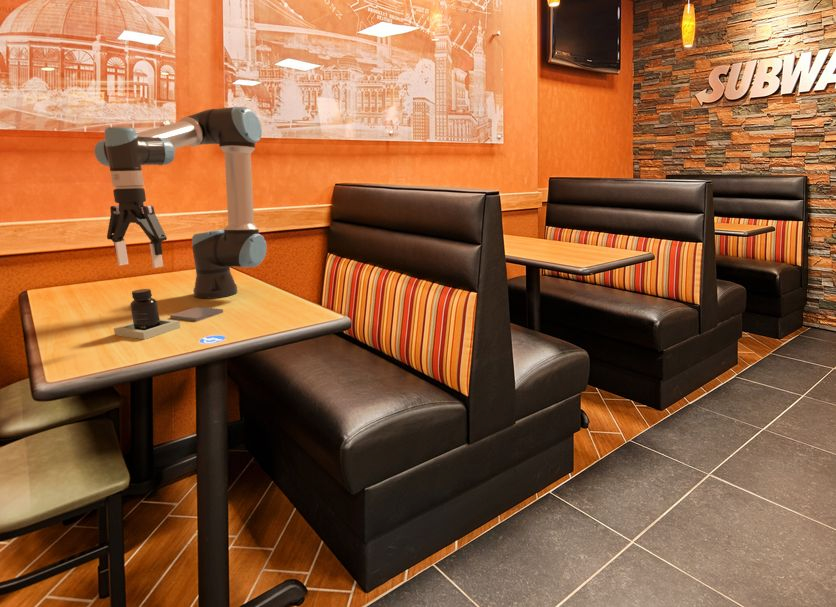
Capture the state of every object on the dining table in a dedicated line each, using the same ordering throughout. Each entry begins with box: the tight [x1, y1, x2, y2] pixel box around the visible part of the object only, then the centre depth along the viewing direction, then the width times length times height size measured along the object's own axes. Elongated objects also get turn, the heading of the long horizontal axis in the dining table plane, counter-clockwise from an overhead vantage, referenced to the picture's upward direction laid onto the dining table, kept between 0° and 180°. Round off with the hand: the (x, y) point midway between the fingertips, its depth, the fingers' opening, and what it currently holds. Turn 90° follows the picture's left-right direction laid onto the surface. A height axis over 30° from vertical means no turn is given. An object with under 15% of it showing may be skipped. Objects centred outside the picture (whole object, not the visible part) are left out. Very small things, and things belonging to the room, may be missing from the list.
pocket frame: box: [113, 318, 181, 340], centre depth 155 cm, size 12×12×2 cm
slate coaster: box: [169, 306, 224, 322], centre depth 171 cm, size 11×11×1 cm
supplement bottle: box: [129, 288, 161, 330], centre depth 154 cm, size 7×7×12 cm
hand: (140, 266), depth 151 cm, fingers open, 13 cm apart
